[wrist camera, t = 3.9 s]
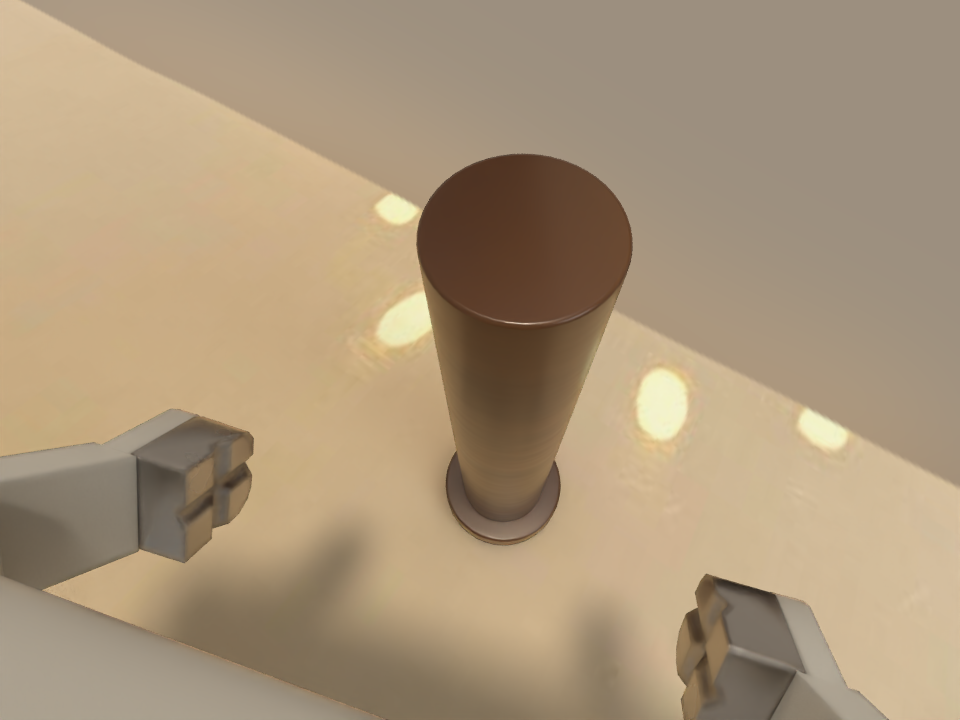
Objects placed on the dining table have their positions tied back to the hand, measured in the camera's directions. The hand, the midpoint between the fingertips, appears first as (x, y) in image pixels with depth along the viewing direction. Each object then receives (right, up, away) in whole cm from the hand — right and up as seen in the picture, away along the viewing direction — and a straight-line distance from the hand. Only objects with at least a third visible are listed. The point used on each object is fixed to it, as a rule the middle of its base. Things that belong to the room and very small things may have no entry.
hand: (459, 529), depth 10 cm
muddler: (+1, -2, +12) cm, 13 cm away
